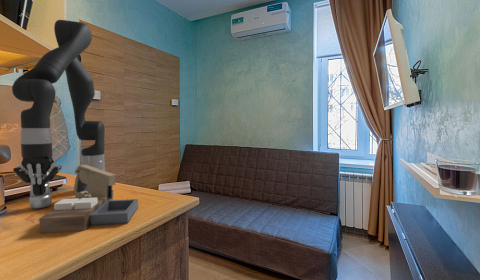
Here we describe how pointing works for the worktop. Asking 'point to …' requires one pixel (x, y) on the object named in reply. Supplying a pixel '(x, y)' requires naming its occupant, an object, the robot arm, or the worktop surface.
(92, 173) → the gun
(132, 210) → the box
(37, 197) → the plastic bottle
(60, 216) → the brown wooden block
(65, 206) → the tile
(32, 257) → the worktop surface
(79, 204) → the tile
